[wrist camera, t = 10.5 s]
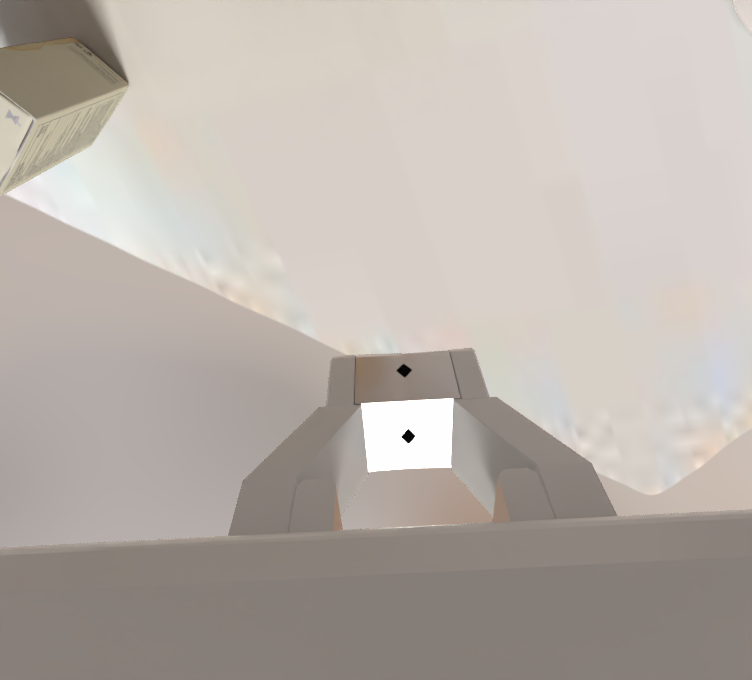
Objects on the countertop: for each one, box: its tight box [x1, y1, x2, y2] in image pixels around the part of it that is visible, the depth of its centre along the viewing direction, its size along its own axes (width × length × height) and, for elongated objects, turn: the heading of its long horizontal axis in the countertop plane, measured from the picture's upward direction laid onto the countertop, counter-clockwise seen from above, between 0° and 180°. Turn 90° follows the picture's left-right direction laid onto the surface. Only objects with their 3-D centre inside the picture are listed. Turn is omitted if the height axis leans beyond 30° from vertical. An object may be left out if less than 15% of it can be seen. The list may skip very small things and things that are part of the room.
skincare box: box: [0, 37, 129, 196], centre depth 30 cm, size 6×4×12 cm
